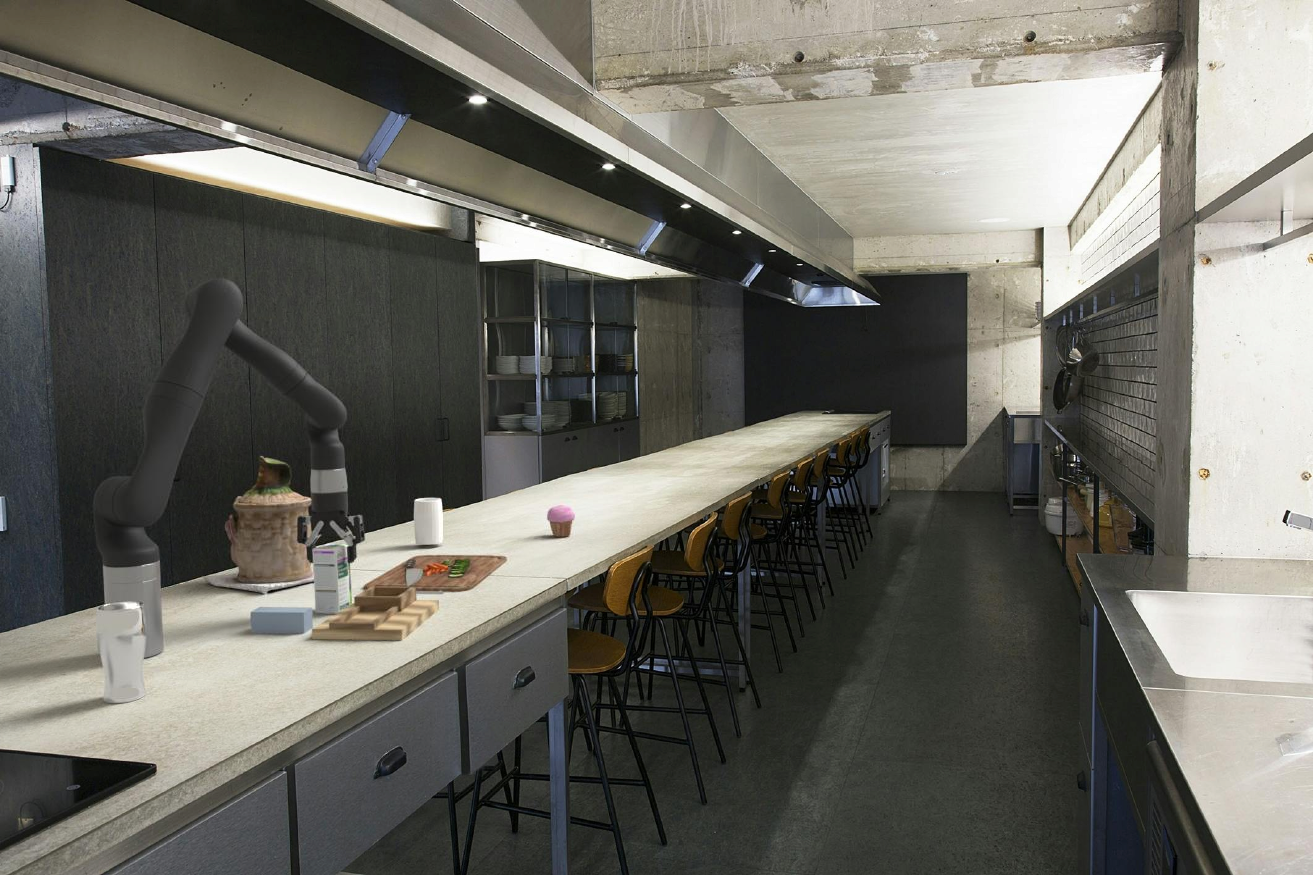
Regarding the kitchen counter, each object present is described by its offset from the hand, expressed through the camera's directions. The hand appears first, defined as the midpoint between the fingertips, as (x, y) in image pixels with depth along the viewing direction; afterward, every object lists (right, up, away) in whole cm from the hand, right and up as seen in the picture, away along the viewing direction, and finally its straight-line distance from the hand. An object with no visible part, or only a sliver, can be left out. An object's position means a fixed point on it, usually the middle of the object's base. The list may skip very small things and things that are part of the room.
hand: (332, 562), depth 207 cm
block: (-5, -12, -15) cm, 20 cm away
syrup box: (0, -11, 0) cm, 11 cm away
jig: (+13, -11, -11) cm, 20 cm away
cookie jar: (-26, -9, +32) cm, 42 cm away
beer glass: (-15, -15, -54) cm, 58 cm away
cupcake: (+41, -4, +93) cm, 101 cm away
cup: (+3, -6, +77) cm, 78 cm away
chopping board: (+15, -9, +38) cm, 42 cm away
